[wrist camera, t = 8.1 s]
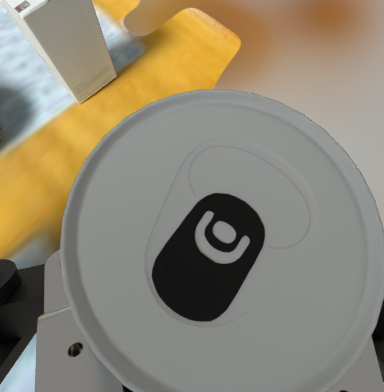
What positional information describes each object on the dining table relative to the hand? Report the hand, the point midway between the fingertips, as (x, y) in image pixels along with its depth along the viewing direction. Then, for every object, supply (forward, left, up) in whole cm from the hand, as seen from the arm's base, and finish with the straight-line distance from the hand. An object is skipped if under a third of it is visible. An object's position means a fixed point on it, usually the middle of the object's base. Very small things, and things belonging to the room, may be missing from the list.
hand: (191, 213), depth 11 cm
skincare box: (-28, +13, -22) cm, 38 cm away
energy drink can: (+1, -2, -8) cm, 8 cm away
